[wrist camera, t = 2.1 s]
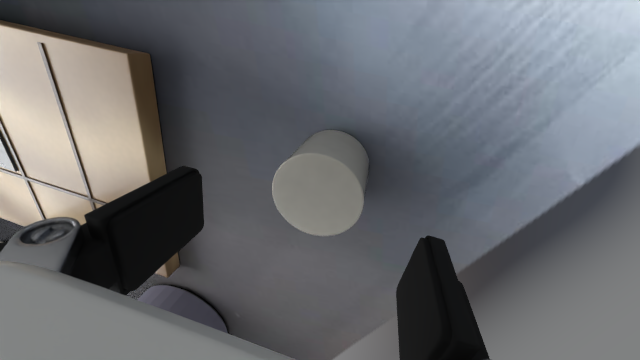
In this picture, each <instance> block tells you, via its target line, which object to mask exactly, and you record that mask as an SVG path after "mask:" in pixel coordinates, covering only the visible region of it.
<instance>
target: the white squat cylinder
mask: <svg viewBox="0 0 640 360" xmlns="http://www.w3.org/2000/svg"><path fill="white" fill-rule="evenodd" d="M368 175H369V159H368V156H367V153H366V151H365V149H364V148H363V146H362V145H361V144H360V143H359V141H358V140H356V139H355V138H354V137H352V136H351V135H349V134H347V133H344V132H341V131H337V130H325V131H320V132H318V133H315V134H313V135H312V136H310V137H309V138H308V139H307V140H306V141H305V142H304V143H303V144H302V145H301V146H300V147H299V148H298V149H297V150H296V151H295V152H294V153H293V154H292V155H291V156H290V157H289V158H288V159H287V160H286V161H285V162H284V163H283V164H282V165H281V166H280V167H279V169H278V170H277V172H276V174H275V176H274V179H273V184H272V194H273V199H274V202H275V205H276V207H277V209H278V211H279V212H280V214H281V215H282V216H283V217H284V219H285V220H286V221H287V222H289V223H290V224H291V225H292V226H294V227H295V228H297V229H299V230H301V231H303V232H305V233H308V234H312V235H316V236H332V235H337V234H340V233H342V232H344V231H346V230H348V229H349V228H351V227H352V226H353V225H354V224H355V223H356V222H357V220H358V219H359V217H360V215H361V213H362V210H363V206H364V200H365V194H366V187H367V181H368Z"/></svg>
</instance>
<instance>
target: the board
mask: <svg viewBox="0 0 640 360" xmlns="http://www.w3.org/2000/svg"><path fill="white" fill-rule="evenodd" d="M165 174H167V172H166V165H165V157H164V150H163V143H162V136H161V129H160V122H159V115H158V108H157V100H156V93H155V86H154V79H153V72H152V65H151V58H150V54H148V53H144V52H139V51H135V50H131V49H126V48H122V47H117V46H113V45H108V44H104V43H100V42H95V41H91V40H86V39H82V38H77V37H73V36H69V35H64V34H60V33H55V32H51V31H46V30H42V29H38V28H33V27H29V26H24V25H20V24H15V23H11V22H7V21H2V20H0V218H3V219H6V220H9V221H11V222H14V223H17V224H20V225H22V226H27V225H29V224H32V223H34V222H37V221H41V220H44V219H48V218H55V217H70V218H74V219H76V220H78V221H79V223H80V225H83V224H84V223H86V220H85V217H84V215H85V214H87V213H89V212H91V211H93V210H95V209H97V208H99V207H101V206H103V205H105V204H107V203H109V202H111V201H113V200H115V199H117V198H119V197H121V196H123V195H125V194H127V193H129V192H131V191H133V190H135V189H137V188H139V187H141V186H143V185H145V184H147V183H149V182H151V181H153V180H155V179H157V178H159V177H161V176H163V175H165ZM179 266H180V264H179V257H178V252H177V253H176V254H175V255H174V256H173V257H172V258H170V259H169V260H168V261H167V262H166V263H165V264H164V265H163V266H162V267H160V268H159V269H158V270H157V271H156V272H155V273H156V274H158V275H161V276H164V277H167V278H168V277H169V276H170V275H171V274H172V273H173V272H174V271H175V270H176V269H177V268H178V267H179Z"/></svg>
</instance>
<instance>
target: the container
mask: <svg viewBox="0 0 640 360" xmlns="http://www.w3.org/2000/svg"><path fill="white" fill-rule="evenodd" d="M137 300H139V301H142V302H144V303H147V304H150V305H152V306H155V307H158V308H161V309H163V310H166V311H169V312H171V313H174V314H177V315H179V316H182V317H185V318H188V319H190V320H193V321H196V322H198V323H201V324H204V325H206V326H209V327H212V328H214V329H217V330H220V331H222V332H225V333H228V332H227V328H226V326H225V323H224V322H223V320H222V318H221V317H220V315H219V314H218V313H217V311H216V310H215V309H214V308H213V307H212V306H210V305H209V304H208V303H207V302H206V301H204V300H203V299H201V298H200V297H198V296H197V295H195V294H193V293H191V292H189V291H186V290H183V289H180V288H176V287H172V286H168V285H157V286H152V287H150V288H148V289H147V290H146V291H145V292H144V293H143V294H142V295H141V296H140V297H139V298H138V299H137Z"/></svg>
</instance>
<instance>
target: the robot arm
mask: <svg viewBox="0 0 640 360" xmlns="http://www.w3.org/2000/svg"><path fill="white" fill-rule="evenodd" d="M84 217H85V220H86V223H84V224H83V225H80V223H79V221H78V220H76V219H74V218H70V217H55V218H48V219H44V220H41V221H37V222H34V223H32V224H29V225H27V226H25V227H24V228H22V229H20V230H19V231H17V232H16V233H15V234H14V235H13V236H12V238H11V239H10V240H9V241H7V242H1V243H0V360H296V359H294V358H291V357H288V356H286V355H283V354H281V353H278V352H275V351H273V350H270V349H267V348H265V347H262V346H260V345H257V344H254V343H252V342H249V341H246V340H244V339H241V338H238V337H236V336H233V335H230V334H228V333H225V332H222V331H220V330H217V329H214V328H212V327H209V326H206V325H204V324H201V323H198V322H196V321H193V320H190V319H188V318H185V317H182V316H179V315H177V314H174V313H171V312H169V311H166V310H163V309H161V308H158V307H155V306H152V305H150V304H147V303H144V302H142V301H139V300H136V299H133V298H131V297H128V296H126V295H127V294H128V293H129V292H130V291H134V290H136V289H137V288H138V287H140V286H141V285H142V284H143V283H144V282H145V281H146V280H147V279H148V278H149V277H151V276H152V275H153V274H154V273H155V272H156V271H157V270H158V269H159V268H160V267H162V266H163V265H164V264H165V263H166V262H167V261H168V260H169V259H170V258H172V257H173V256H174V255H175V254H176V253H177V252H178V251H179V250H180V249H181V248H183V247H184V246H185V245H186V244H187V243H188V242H189V241H190V240H191V239H193V238H194V237H195V236H196V235H197V234H198V233H199V232H200V231H201V230H202V228H203V226H204V215H203V193H202V176H201V174H199V171H198V170H197V169H194V168H190V167H187V166H181V167H179V168H177V169H175V170H173V171H171V172H169V173H167V174H165V175H163V176H161V177H159V178H157V179H155V180H153V181H151V182H149V183H147V184H145V185H143V186H141V187H139V188H137V189H135V190H133V191H131V192H129V193H127V194H125V195H123V196H121V197H119V198H117V199H115V200H113V201H111V202H109V203H107V204H105V205H103V206H101V207H99V208H97V209H95V210H93V211H91V212H89V213H87V214H85V215H84ZM396 298H397V316H398V335H399V352H400V360H490V359H489V356H488V353H487V350H486V348H485V345H484V342H483V339H482V336H481V334H480V331H479V328H478V325H477V322H476V320H475V317H474V314H473V311H472V309H471V306H470V303H469V300H468V297H467V295H466V292H465V289H464V287H463V285H462V283H461V282H460V281H458V279H457V276H456V273H455V270H454V267H453V264H452V261H451V258H450V256H449V253H448V250H447V247H446V244H445V241H444V240H442V239H439V238H435V237H432V236H426V237H425V238H420V240H419V242H418V244H417V246H416V248H415V250H414V252H413V254H412V256H411V259H410V261H409V263H408V265H407V267H406V269H405V271H404V273H403V275H402V278H401V280H400V282H399V284H398V287H397V292H396Z"/></svg>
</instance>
